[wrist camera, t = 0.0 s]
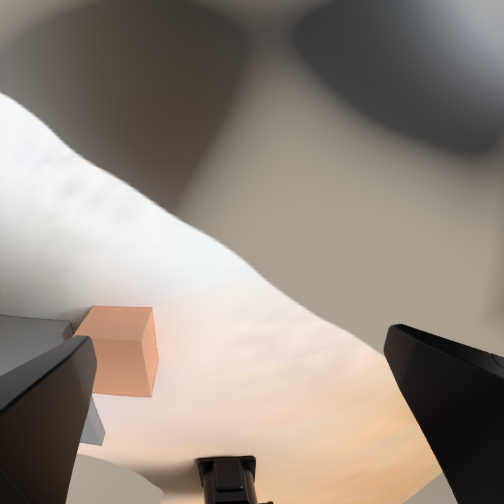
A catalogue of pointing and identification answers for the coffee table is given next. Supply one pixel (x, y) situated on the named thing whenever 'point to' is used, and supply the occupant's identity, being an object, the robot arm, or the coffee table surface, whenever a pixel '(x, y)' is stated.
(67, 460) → the robot arm
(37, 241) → the coffee table surface
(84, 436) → the base board
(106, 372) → the terracotta block
